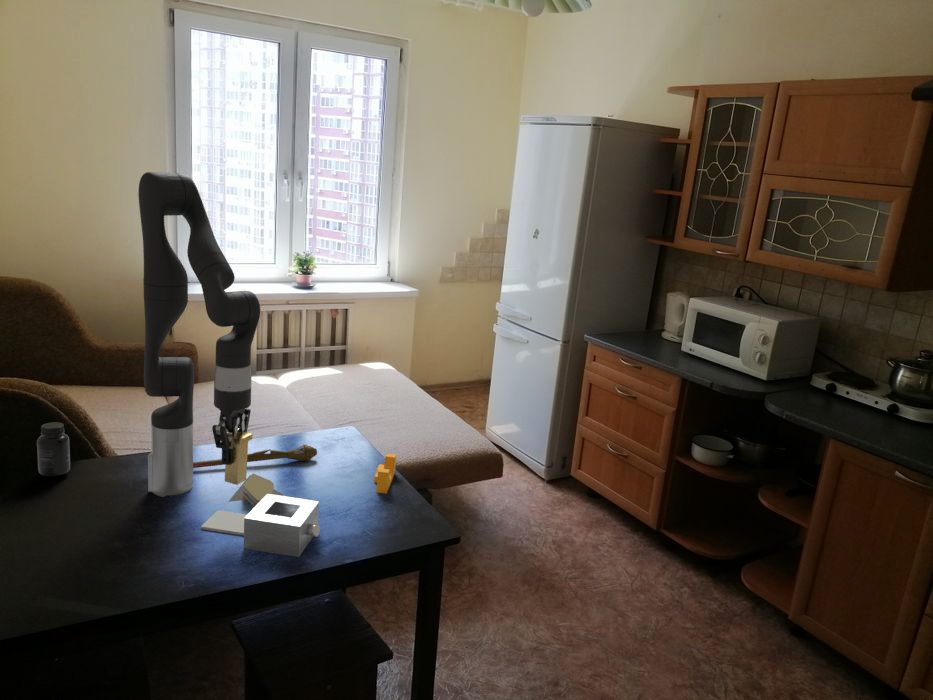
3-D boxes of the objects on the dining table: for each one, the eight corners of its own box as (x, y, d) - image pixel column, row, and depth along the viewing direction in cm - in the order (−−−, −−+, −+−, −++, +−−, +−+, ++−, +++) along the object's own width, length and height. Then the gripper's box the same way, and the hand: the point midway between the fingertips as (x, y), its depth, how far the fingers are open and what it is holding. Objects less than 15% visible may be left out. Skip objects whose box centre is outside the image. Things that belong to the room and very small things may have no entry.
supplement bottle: (76, 471, 176) (74, 425, 174) (48, 479, 171) (45, 432, 168) (60, 463, 180) (58, 418, 177) (32, 471, 174) (30, 425, 171)
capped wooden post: (237, 486, 153) (239, 440, 150) (220, 481, 154) (222, 435, 152) (250, 479, 157) (252, 433, 154) (233, 474, 158) (235, 429, 156)
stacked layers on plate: (227, 502, 168) (229, 490, 164) (250, 475, 175) (252, 463, 171) (263, 523, 168) (266, 512, 164) (284, 495, 174) (288, 484, 170)
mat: (200, 528, 155) (200, 526, 155) (217, 512, 163) (218, 510, 163) (244, 535, 154) (244, 533, 154) (259, 518, 162) (259, 516, 162)
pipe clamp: (378, 475, 191) (380, 452, 190) (394, 477, 191) (396, 454, 190) (369, 494, 180) (371, 470, 178) (386, 496, 179) (388, 472, 178)
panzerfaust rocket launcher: (179, 471, 185) (178, 454, 184) (314, 456, 198) (314, 440, 197) (180, 479, 181) (179, 461, 179) (318, 463, 194) (318, 447, 193)
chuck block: (243, 548, 149) (244, 518, 147) (266, 522, 161) (267, 493, 159) (308, 558, 148) (309, 527, 146) (326, 531, 159) (327, 502, 157)
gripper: (234, 396, 144) (233, 475, 148) (263, 378, 157) (261, 451, 161) (199, 391, 144) (199, 470, 148) (231, 374, 158) (229, 446, 162)
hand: (231, 460), depth 155 cm, fingers closed on capped wooden post, 3 cm apart
